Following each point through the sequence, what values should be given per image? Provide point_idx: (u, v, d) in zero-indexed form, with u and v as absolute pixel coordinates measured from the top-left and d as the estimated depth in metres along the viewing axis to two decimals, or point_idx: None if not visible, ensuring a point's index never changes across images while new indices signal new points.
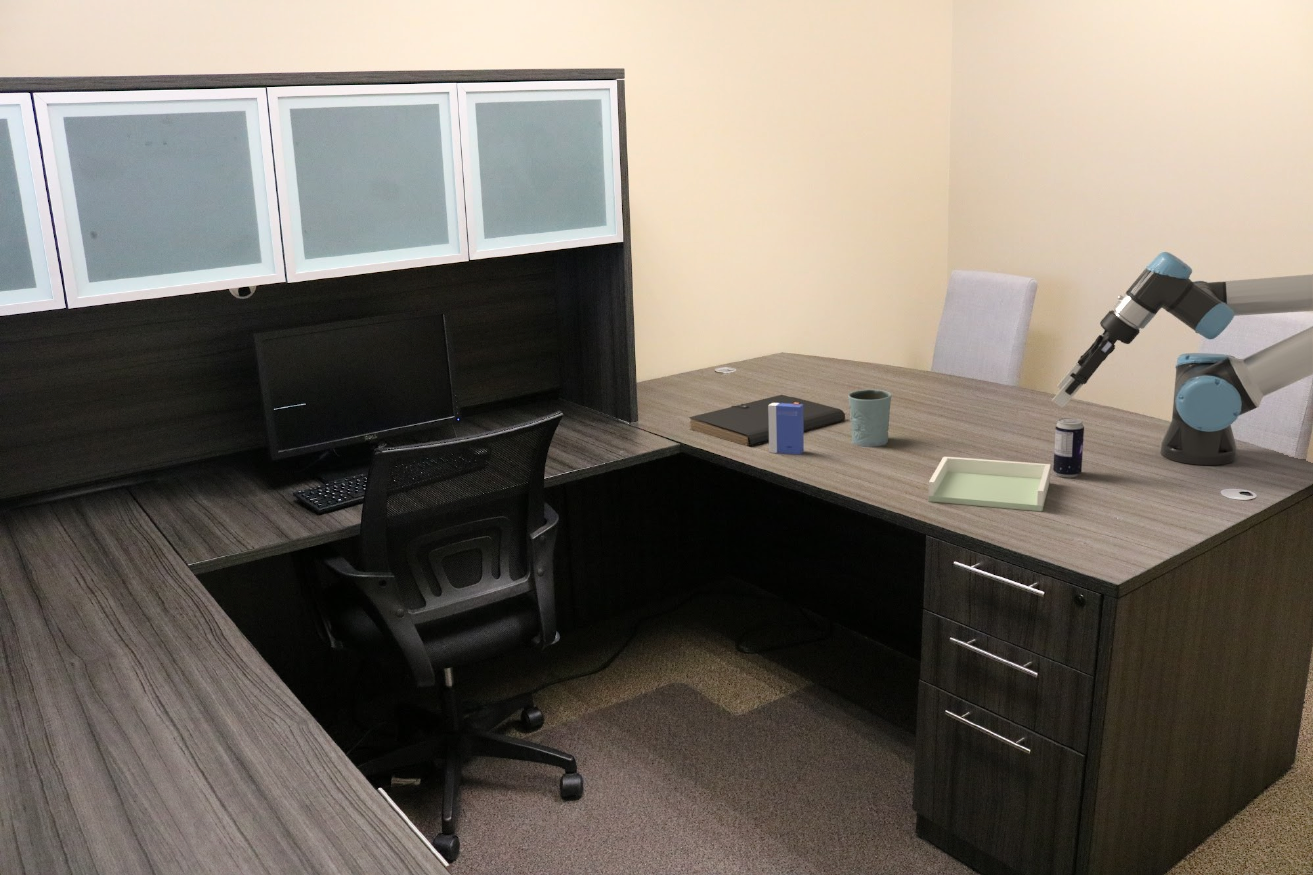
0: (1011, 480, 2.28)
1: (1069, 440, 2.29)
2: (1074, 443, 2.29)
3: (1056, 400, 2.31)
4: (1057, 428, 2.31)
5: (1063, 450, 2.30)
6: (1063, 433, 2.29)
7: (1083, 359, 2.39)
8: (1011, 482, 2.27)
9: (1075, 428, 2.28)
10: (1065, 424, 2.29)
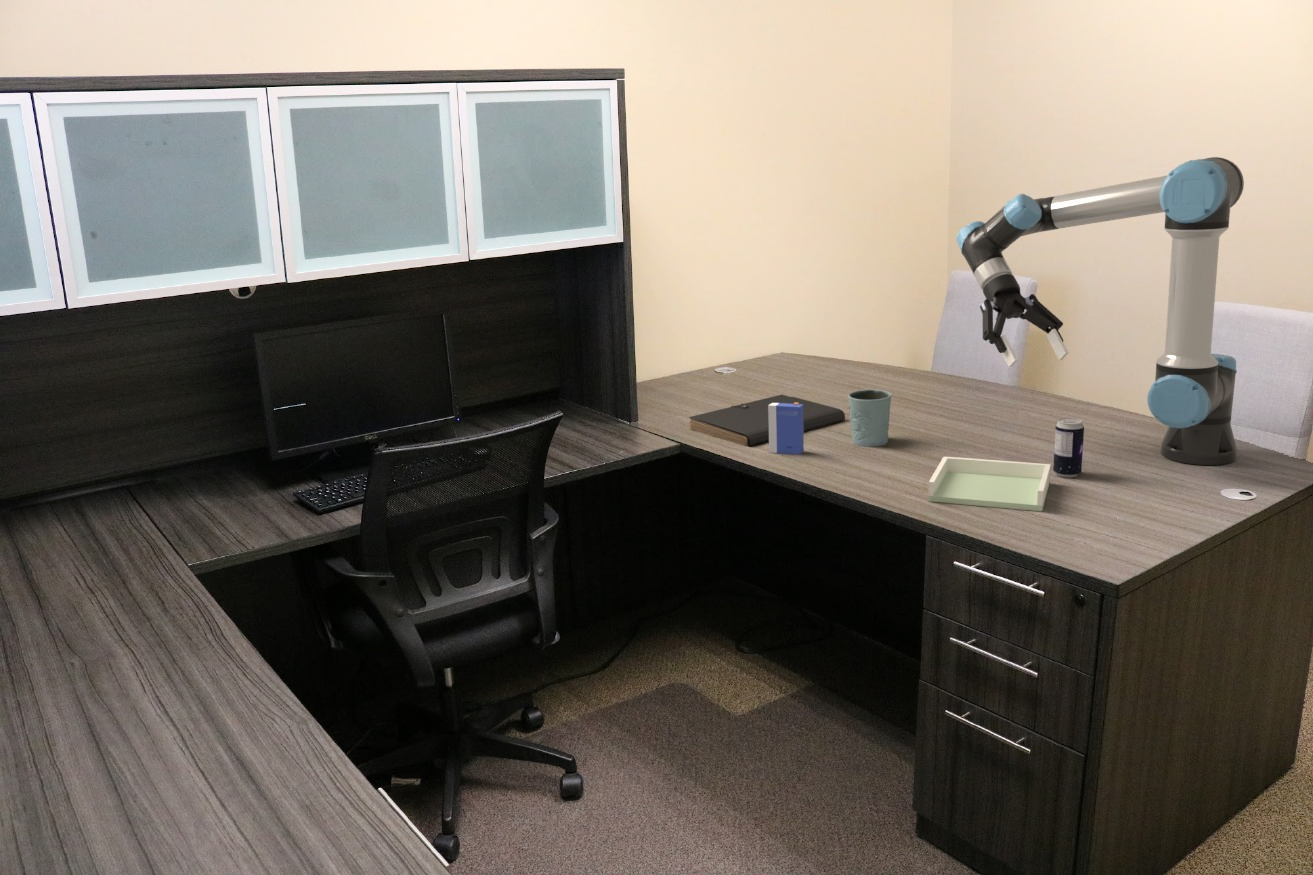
0: (1011, 480, 2.28)
1: (1069, 440, 2.29)
2: (1074, 443, 2.29)
3: (1009, 363, 2.35)
4: (1057, 428, 2.31)
5: (1063, 450, 2.30)
6: (1063, 433, 2.29)
7: (1042, 328, 2.43)
8: (1011, 482, 2.27)
9: (1075, 428, 2.29)
10: (1065, 424, 2.29)
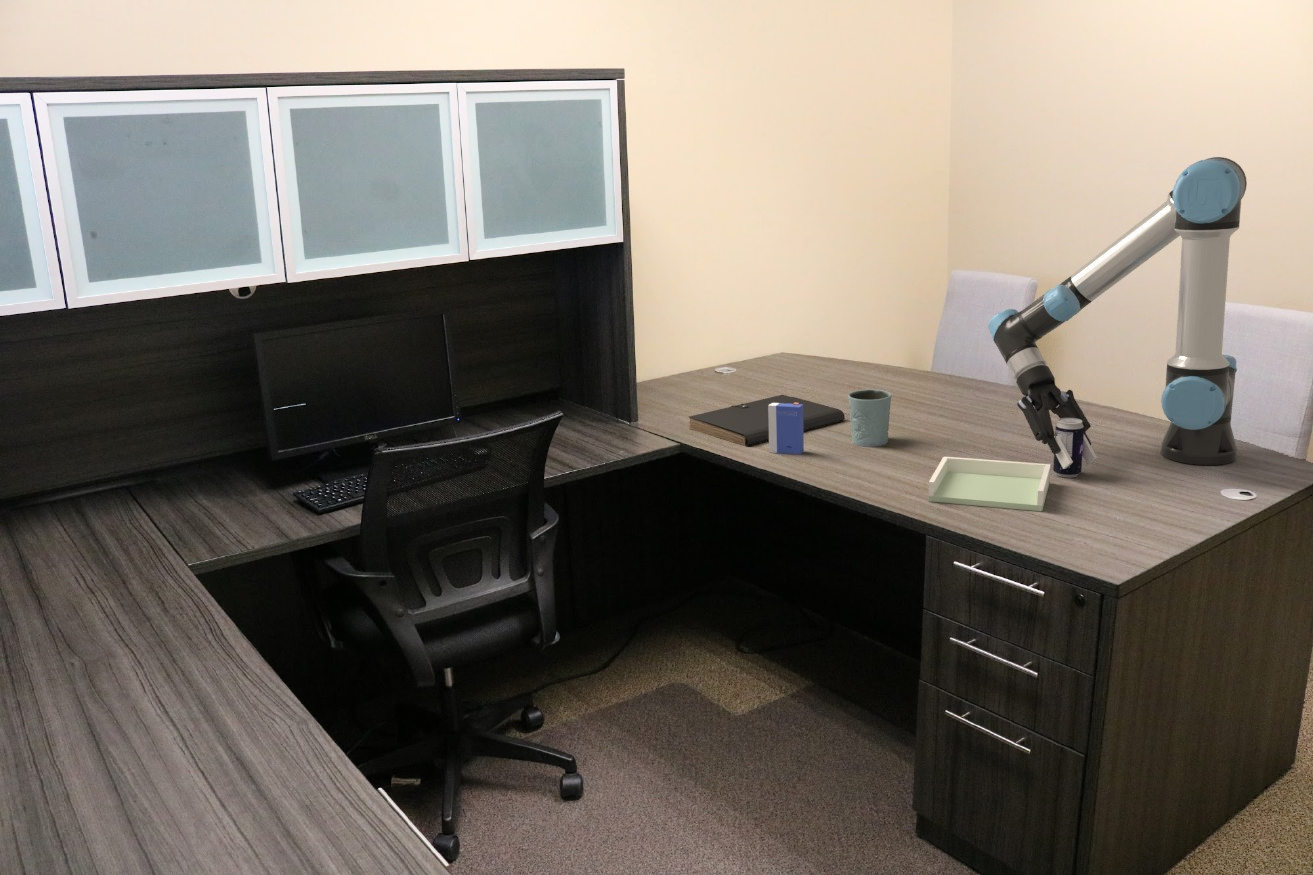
0: (1011, 480, 2.28)
1: (1069, 440, 2.29)
2: (1074, 443, 2.29)
3: (1063, 464, 2.29)
4: (1057, 428, 2.31)
5: None
6: (1063, 432, 2.29)
7: None
8: (1011, 482, 2.27)
9: (1075, 428, 2.29)
10: (1065, 424, 2.29)
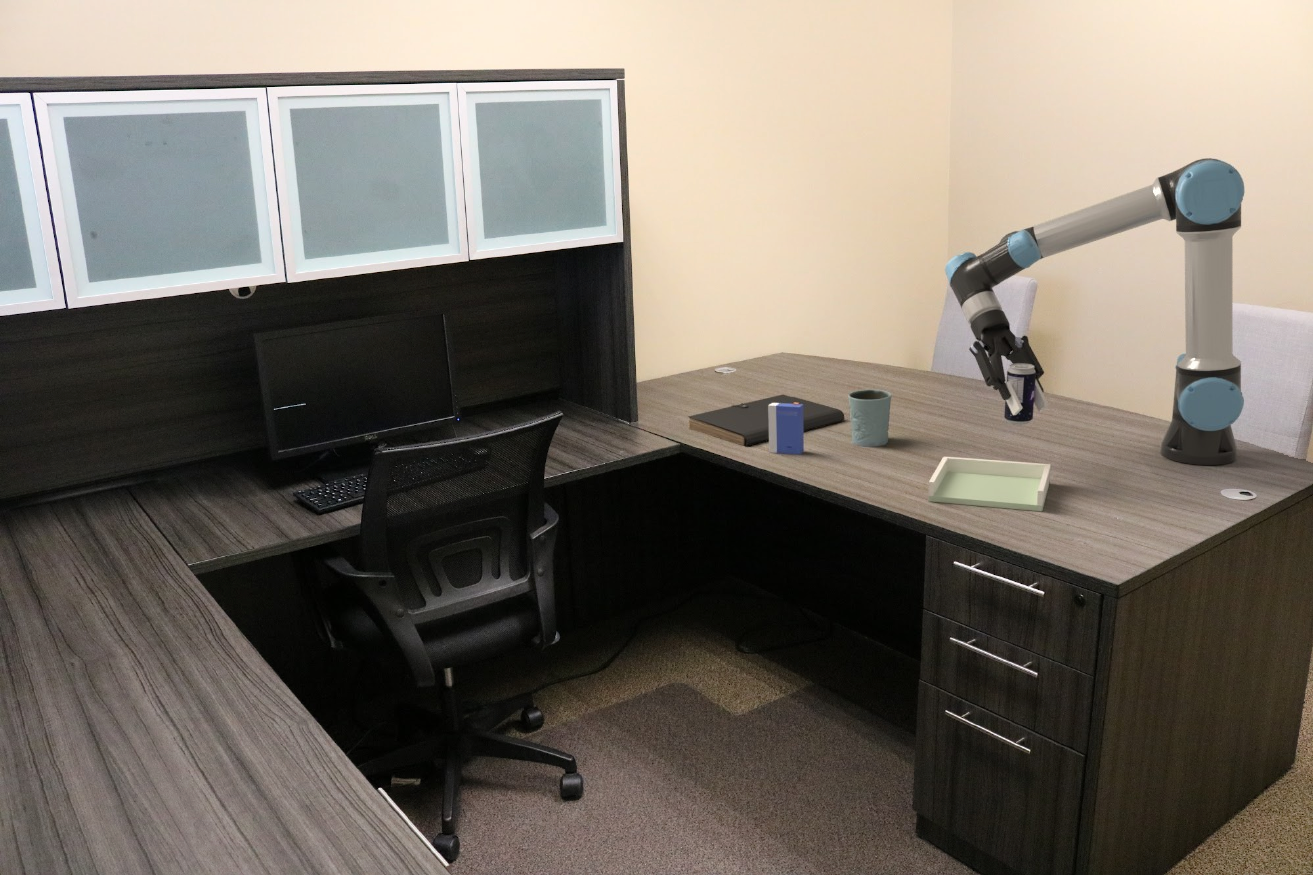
0: (1011, 480, 2.28)
1: (1019, 386, 2.23)
2: (1025, 388, 2.23)
3: (1013, 411, 2.23)
4: (1008, 373, 2.24)
5: None
6: (1014, 378, 2.23)
7: None
8: (1011, 482, 2.27)
9: (1026, 373, 2.22)
10: (1016, 369, 2.23)
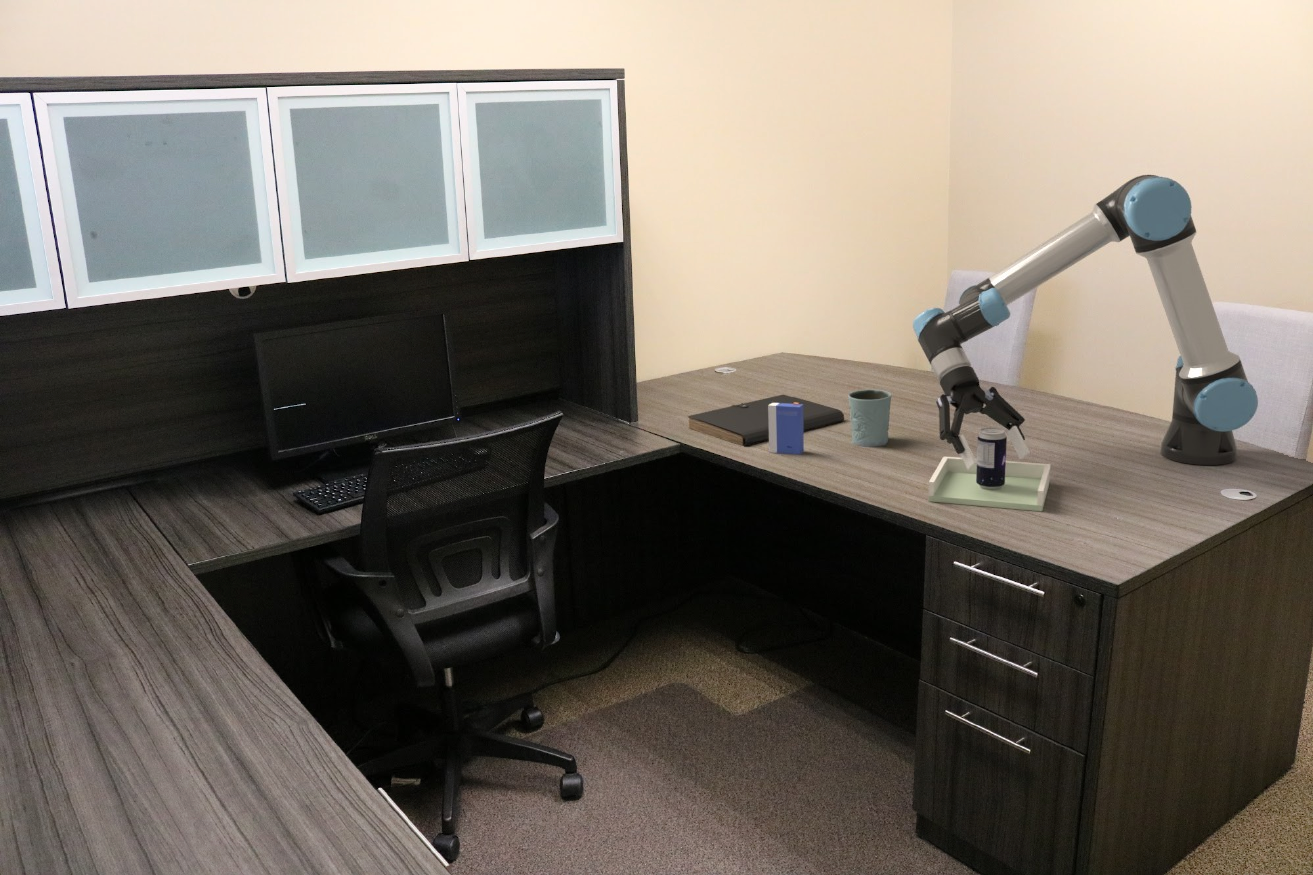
0: (1011, 480, 2.28)
1: (990, 451, 2.21)
2: (996, 454, 2.21)
3: (968, 464, 2.20)
4: (979, 438, 2.22)
5: (985, 461, 2.22)
6: (985, 443, 2.21)
7: (1003, 424, 2.28)
8: (1011, 482, 2.27)
9: (997, 439, 2.20)
10: (987, 434, 2.20)
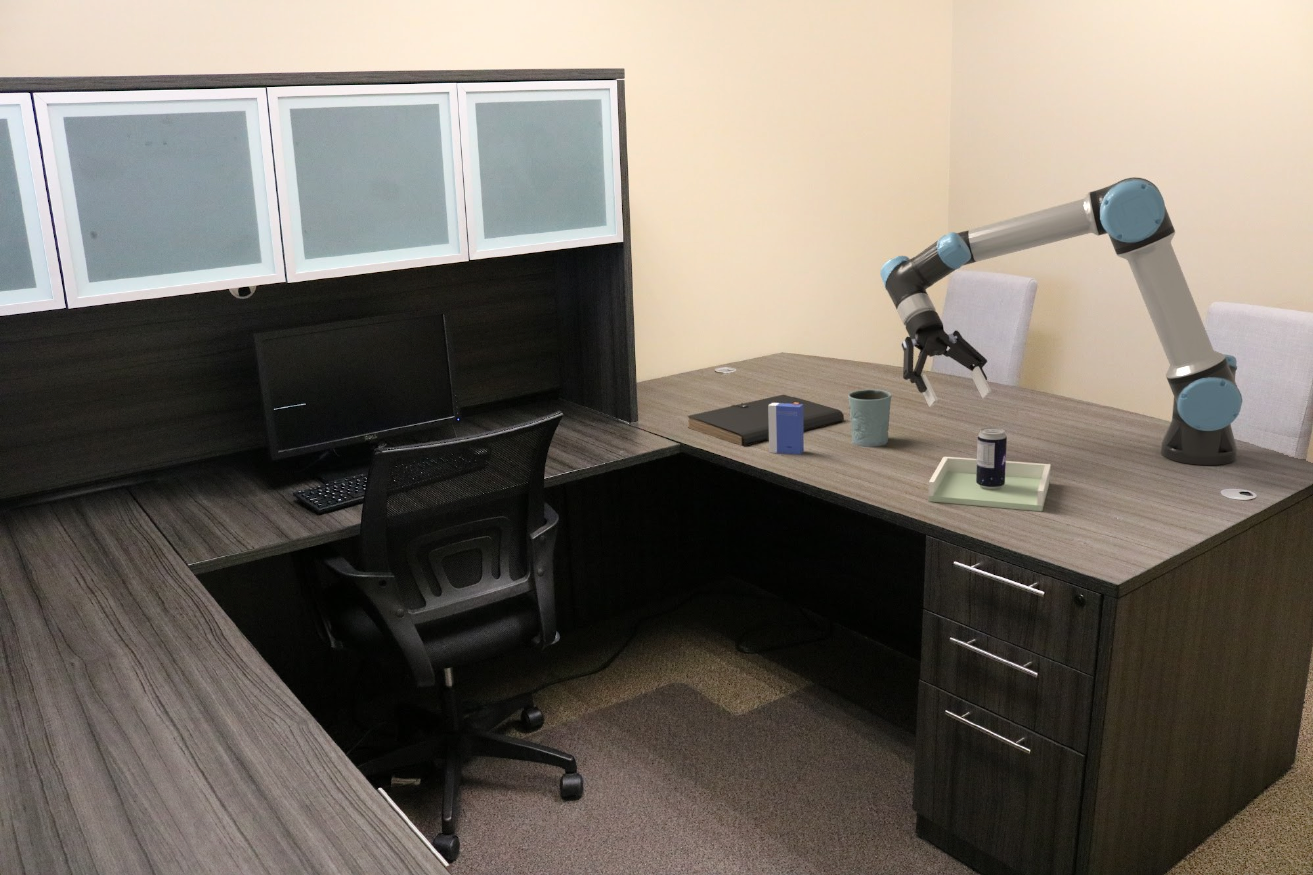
0: (1011, 480, 2.28)
1: (990, 451, 2.21)
2: (996, 454, 2.21)
3: (929, 402, 2.29)
4: (979, 438, 2.22)
5: (985, 461, 2.22)
6: (985, 443, 2.21)
7: (966, 366, 2.37)
8: (1011, 482, 2.27)
9: (997, 439, 2.20)
10: (987, 434, 2.20)
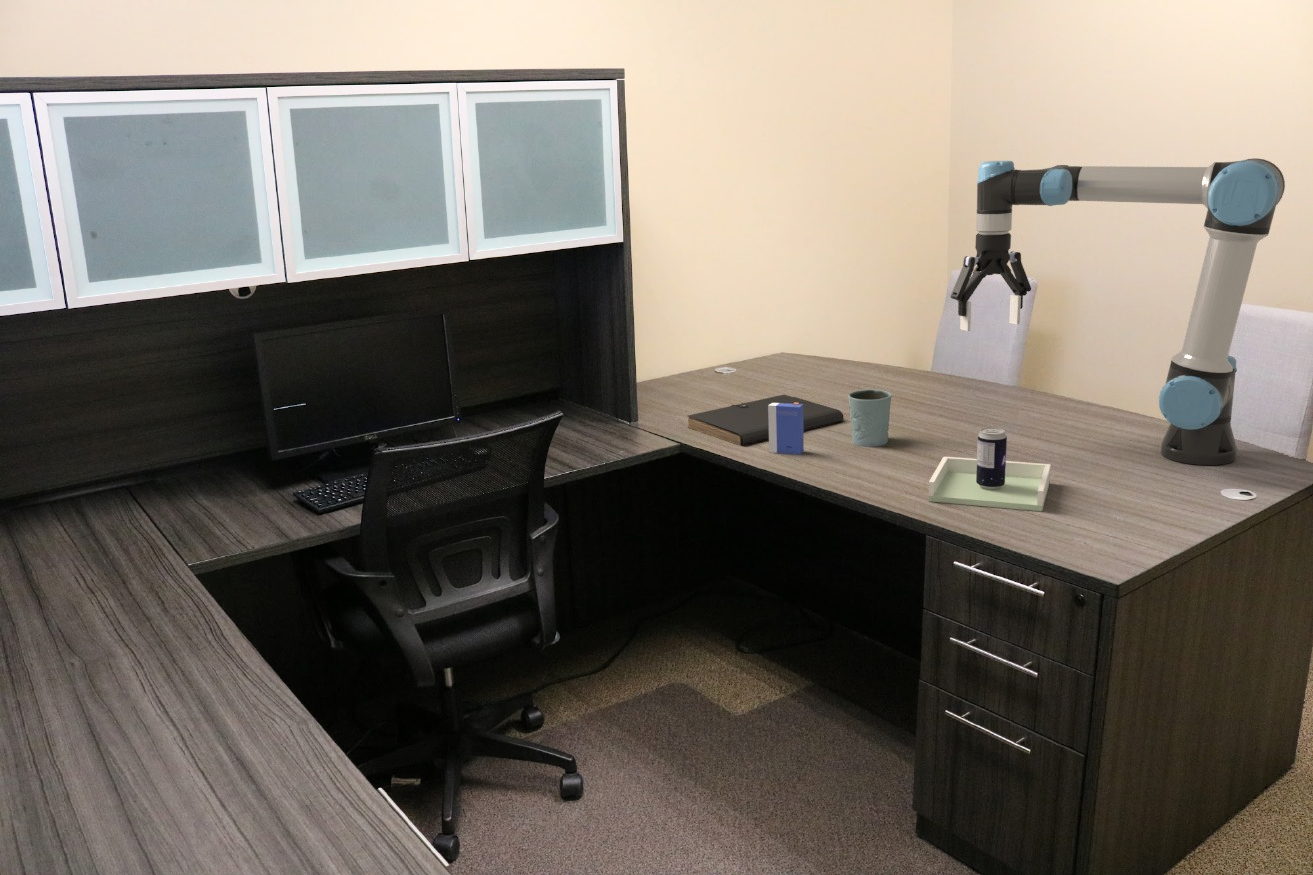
0: (1011, 480, 2.28)
1: (991, 451, 2.21)
2: (996, 454, 2.21)
3: (962, 327, 2.46)
4: (979, 438, 2.22)
5: (985, 461, 2.22)
6: (985, 443, 2.21)
7: (1010, 287, 2.48)
8: (1011, 482, 2.27)
9: (997, 439, 2.20)
10: (987, 434, 2.20)
